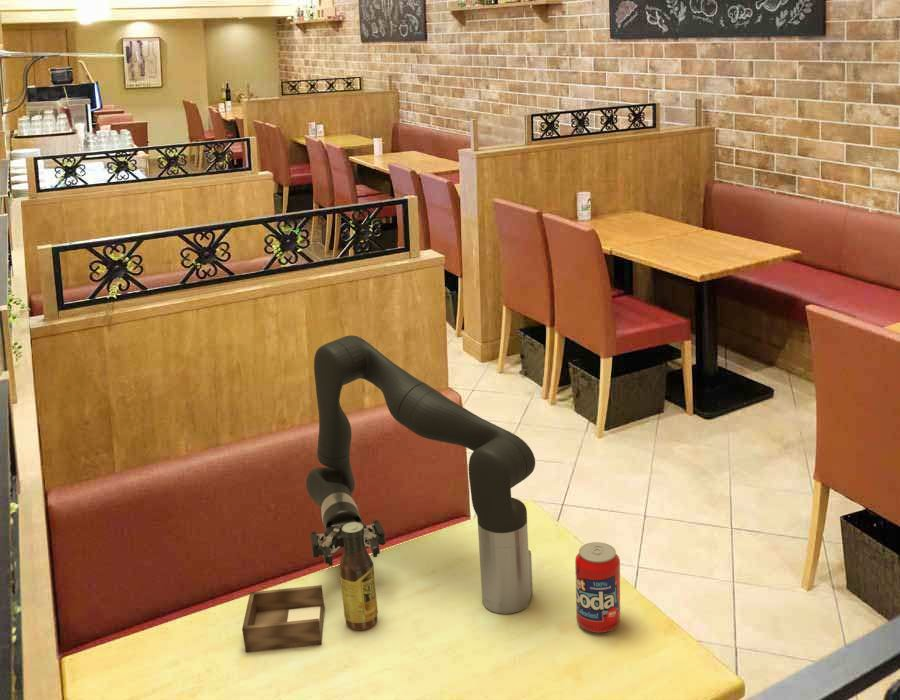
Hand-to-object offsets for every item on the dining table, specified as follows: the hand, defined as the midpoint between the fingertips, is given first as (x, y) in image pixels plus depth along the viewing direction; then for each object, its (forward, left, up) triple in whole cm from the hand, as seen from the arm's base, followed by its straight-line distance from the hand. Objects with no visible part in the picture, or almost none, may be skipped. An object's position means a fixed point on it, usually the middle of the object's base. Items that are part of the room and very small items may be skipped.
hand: (353, 557), depth 174 cm
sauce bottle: (+3, +4, -11) cm, 12 cm away
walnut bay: (+13, -6, -11) cm, 18 cm away
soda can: (-22, +40, -11) cm, 47 cm away
